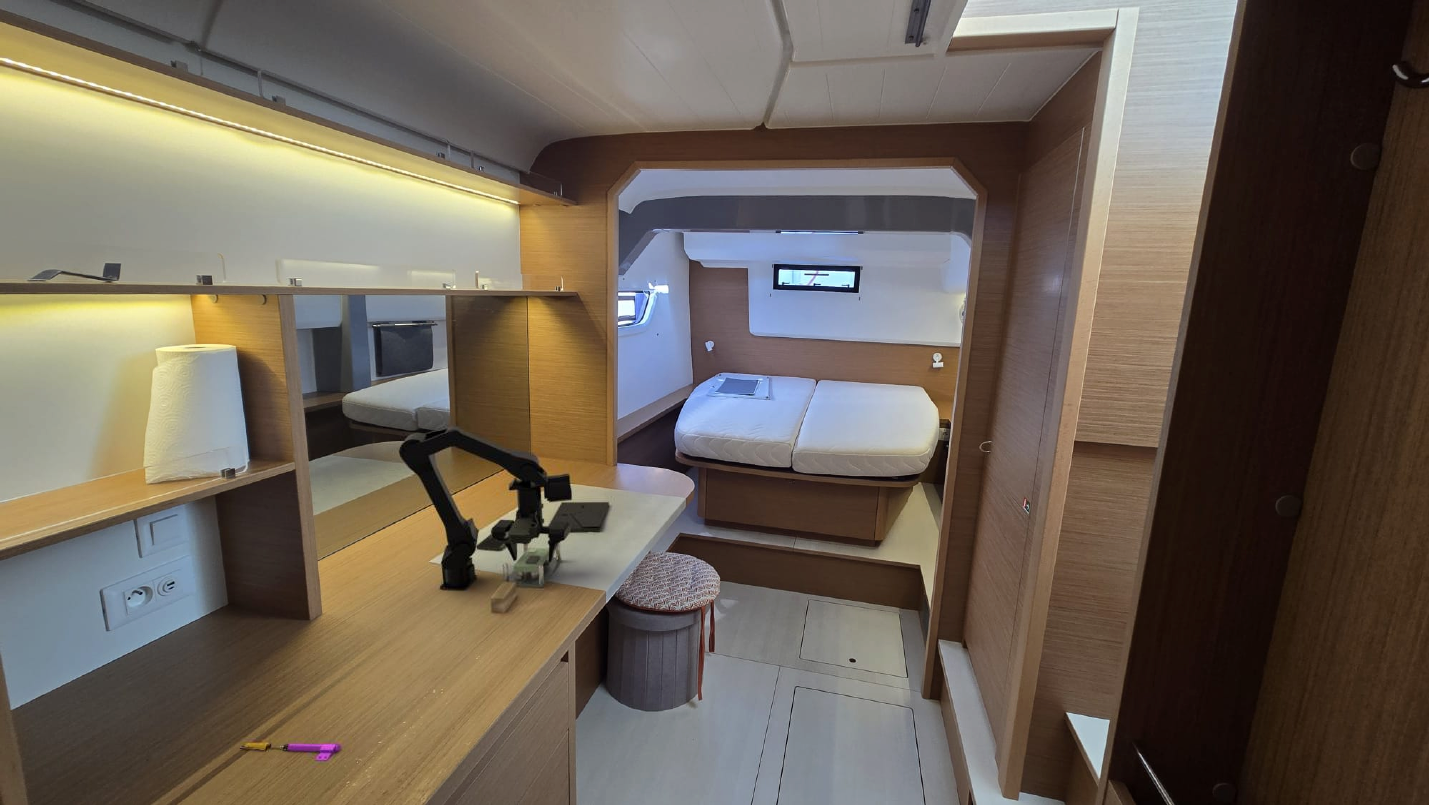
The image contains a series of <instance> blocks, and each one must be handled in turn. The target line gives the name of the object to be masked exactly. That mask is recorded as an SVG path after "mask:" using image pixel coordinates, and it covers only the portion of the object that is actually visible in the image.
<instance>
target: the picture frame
mask: <svg viewBox="0 0 1429 805" xmlns="http://www.w3.org/2000/svg"><path fill="white" fill-rule="evenodd" d="M609 508H610V501H608V502H607V501H594V502H593V501H592V502H590V501H586V502H585V501H583V502H582V501H581V502H580V501H577V502H576V501H574V502H572V501H571V502H569V501H561V502H560V505H559V507H557V510H556V512H555V514H554V515H553V517H552V519H551V520H550V522H549V524H548V525H547V526H552V525H553V523H554V522H568V523H569V524H570V528H571V532H570V533H569V534H571V533H573V534H575V533H579V534H580V533H582V534H583V533H584V534H585V533H588V532H593V533H601V530H602V527H603V523H604V522H603V521H605V518H606V515H607V513H608V510H609Z"/></svg>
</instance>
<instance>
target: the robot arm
mask: <svg viewBox="0 0 1429 805" xmlns="http://www.w3.org/2000/svg"><path fill="white" fill-rule="evenodd" d="M452 447H455V448H456V449H460V450H462V451H464V452H467V453H469V454H472V455H474V456H475V457H479V458H481V459H483V460H486V461H488V462H490V463H493V464H496V465H498V466H499V467H501V468H503V469H504V470H505V471H506V472H507V473H509V474H510V475H512V476H513V477H514V478H513V479H512V481H511V482H510V483H508V490H509V491H516V497H517V510H516V511H515V519H499V521H498V522H496V524H494V526H492V527H491V530H490V534H491V538H493V539H496V540H497V541H500V542H502V543H504V544H505V545H506V547H505V548H507V550H508V552H509V554H510V556H511V558H512V560H513V562H515V561H516V562H517V561H518V560H517V559H518V544H521V545H523V544H528V545H529V544H530V543H531V542H532V540H534V539H538V538H539V537H540V535H547V537H548V540H547V544H548V548H549V562H551V561H552V559H553V557H555V554H556V547H557V545H558V543H560V544H561V542H563V541H565V540H566V539H567V537H568V536H569V534H571V533H570V532H571V528H570V524H569V523H568V522H554V523H553V525H552V526H548V525H544V523H545V518H543V508H544V503H542V488H543V498H544V500H546V502H548V503H557V502H569V501H572V499H573V495H572V494H573V493H572V492H573V491H572V486H571V479H570V478H571V476H570V473H562V474H558V475H557V474H556V475H548V473H547V471H546V470H545V469H544V468H543V467H542V466H541V465H540V460H539V457H538V456H537V455H536V454H534V453H532V452H528V451H523V450H518V449H510V448H506V447H504V446H502V445H499V444H498V443H494V442H492V441H490V440H488V439H485V438H483V437H481V436H479V435H476V434H474V433H471V432H470V431H466V430H464V429H462V428H461V427H459V426H457V425H452V426H450V427H447V428H442V429H438V430H433V431H429V432H425V433H421V432H414V433H411V434H409V435H408V436H407V437H406V438H405V439H404V441H403V442H402V443H401V445H400V447H399V448H398V449H399V450H398V454H399V457H400V458H401V460H402V461H403V462H404V463H405V465H406V466H407V468H408V469H409V470H410V471H412V472H413V473H414V474H415V475H416V476H417V477H418V478H419V479H420V482H421V484H422V485H423V487H424V489H425V491H426V493H427V495H428V498H429V499H430V501H431V503H432V505H433V506H434V509H435V511H436V512H437V515H438V516H439V519H440V520H441V522H442V525H443V526H444V529H445V536H446V537H445V538H446V542H447V545H446V546H445V548H444V551H443V554H442V558H441V561H440V565H441V572H442V573H441V576H442V584H441V585H440V586H439V589H440V590H453V591H454V590H456V591H457V590H458V591H465V590H467V589H468V588H469V587H470V586H471V585H472V583H473V582H474V581H475V580H476V579H477V577H478V575H477V574H476V567H475V563H473V557H472V556H473V555H474V554H475V552H476V550H477V547H476V546H477V545H478V539H479V532H480V530H479V529H478V528H477V527H476V524H475V522H474V519H473V517H471V518H469V519H466V518H465V517H463V515H462V514H461V512H460V509H459V508H458V506H457V504H456V502H455V499H454V498H453V496H452V494H451V493H450V490H449V488H448V486H447V484H446V482H445V480H444V478H443V477H442V475H441V473H440V471H439V469H438V467H437V460H436V456H435V454H437V453H440V452H442V451H444V450H446V449H448V448H452Z"/></svg>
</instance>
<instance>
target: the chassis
mask: <svg viewBox="0 0 1429 805" xmlns="http://www.w3.org/2000/svg"><path fill="white" fill-rule="evenodd" d="M522 546H523V553H524V552H525V551H526V550H527V549H528V548H529V544H522ZM561 552H562V551H561V542H560V543H558V545H557V547H556V550H555V556H553V559H552V561H551V562H549V557H548V558H547V559H546V561H545V562H544V564H543V565H539V566H538V572H517V571H514V569H513V571H512V572H511V573H510V574H509V564H508V563H503V564H502V574H503V582H516V588H538V589H539V588H544V587H545V586H546V584H547V583H548V581H549V580H550V579H551V577H552V576H553V574H554V572H555V570H556V569H557V568H558V566H559V565H560V564H561V562H562V556H561Z"/></svg>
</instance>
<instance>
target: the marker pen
mask: <svg viewBox="0 0 1429 805" xmlns="http://www.w3.org/2000/svg"><path fill="white" fill-rule="evenodd" d="M268 743H269V742H247V743H245V744H246V745H245V747H248V746H249V747H255V748H256V747H257V748H258V747H259V749H266V750H267V748H266V746H268V745H267V744H268ZM279 746H280V747H281V746H282V745H279ZM341 748H342V746H341V744H339V743H326V742H325V743H289V744H288V743H286V744H284V745H283V746H282V750H283V749H286V750H285V751H288V750H290V752H319V753H318V755H317V756H316V758H315V761H319V762H321V761H324V762H327V761H328V760H329V759H330V758H331V756H332V755H333V754H335V753H336V752H339V751H340V750H341Z"/></svg>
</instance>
